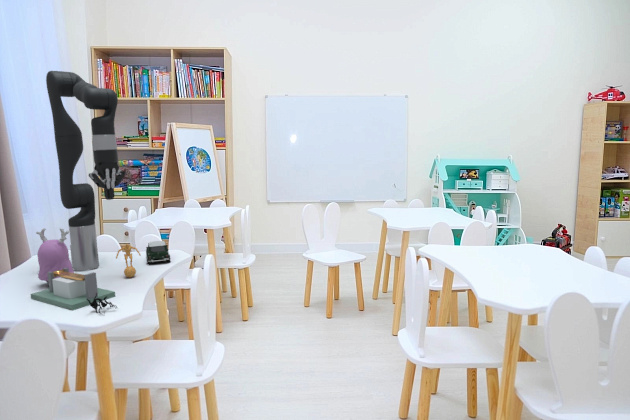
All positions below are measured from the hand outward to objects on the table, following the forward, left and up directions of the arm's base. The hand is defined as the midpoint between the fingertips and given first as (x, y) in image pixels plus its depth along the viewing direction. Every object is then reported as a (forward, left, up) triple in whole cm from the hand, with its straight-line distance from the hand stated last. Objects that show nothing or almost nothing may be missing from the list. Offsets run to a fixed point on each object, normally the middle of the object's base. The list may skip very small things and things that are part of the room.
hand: (109, 199), depth 161 cm
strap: (+3, -18, -23) cm, 29 cm away
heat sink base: (+3, -18, -29) cm, 34 cm away
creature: (+24, -21, -29) cm, 43 cm away
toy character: (-16, -12, -29) cm, 35 cm away
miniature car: (-12, +28, -30) cm, 42 cm away
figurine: (-1, +6, -29) cm, 30 cm away
